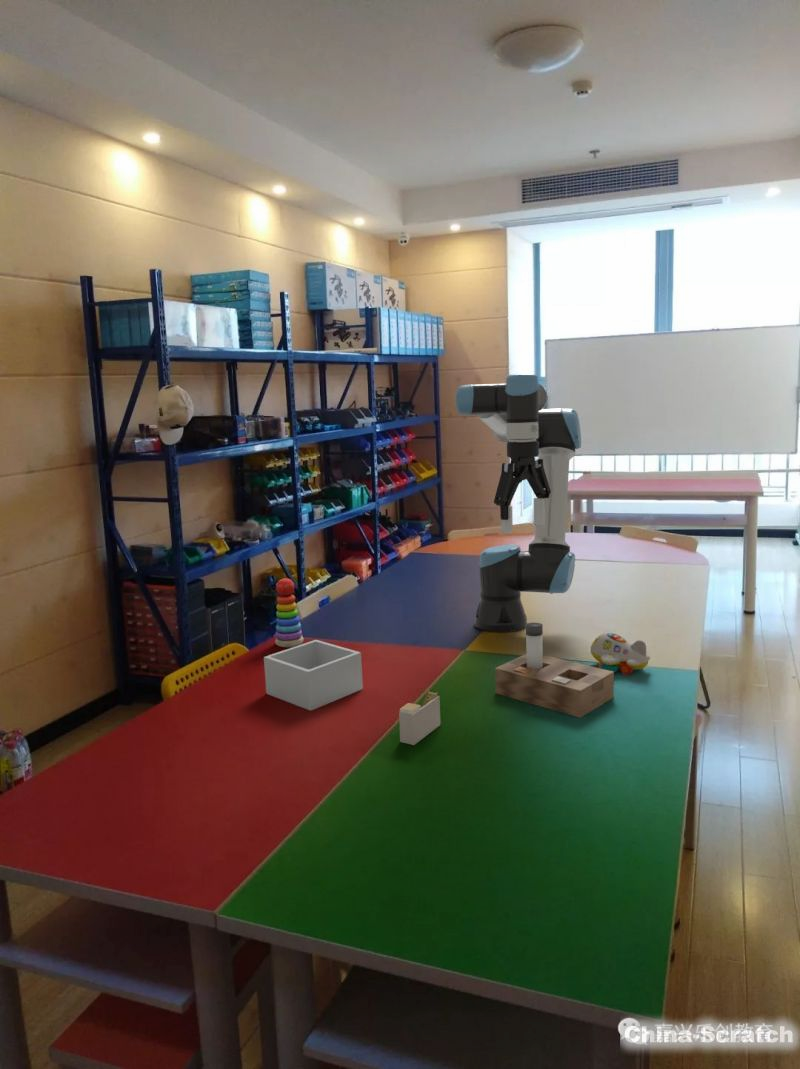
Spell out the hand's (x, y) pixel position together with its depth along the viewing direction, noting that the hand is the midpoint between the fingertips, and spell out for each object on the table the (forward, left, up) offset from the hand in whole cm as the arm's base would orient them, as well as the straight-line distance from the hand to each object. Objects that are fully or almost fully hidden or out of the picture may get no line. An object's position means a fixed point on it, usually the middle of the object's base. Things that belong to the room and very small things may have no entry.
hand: (523, 528), depth 190 cm
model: (+6, -45, -35) cm, 58 cm away
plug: (+11, -12, -33) cm, 37 cm away
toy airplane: (+19, +12, -35) cm, 42 cm away
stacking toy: (-62, -25, -35) cm, 75 cm away
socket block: (+16, -12, -35) cm, 40 cm away
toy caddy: (-29, -44, -35) cm, 63 cm away
